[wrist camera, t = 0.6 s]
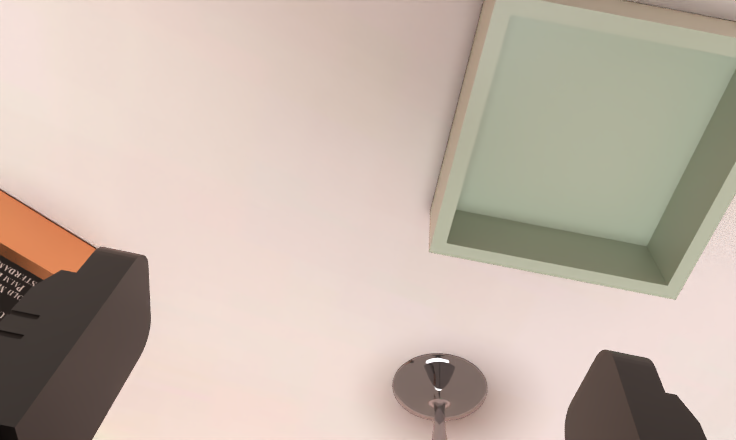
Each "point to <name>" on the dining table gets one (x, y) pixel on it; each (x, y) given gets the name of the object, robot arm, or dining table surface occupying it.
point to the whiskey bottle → (32, 251)
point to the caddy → (591, 143)
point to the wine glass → (439, 389)
